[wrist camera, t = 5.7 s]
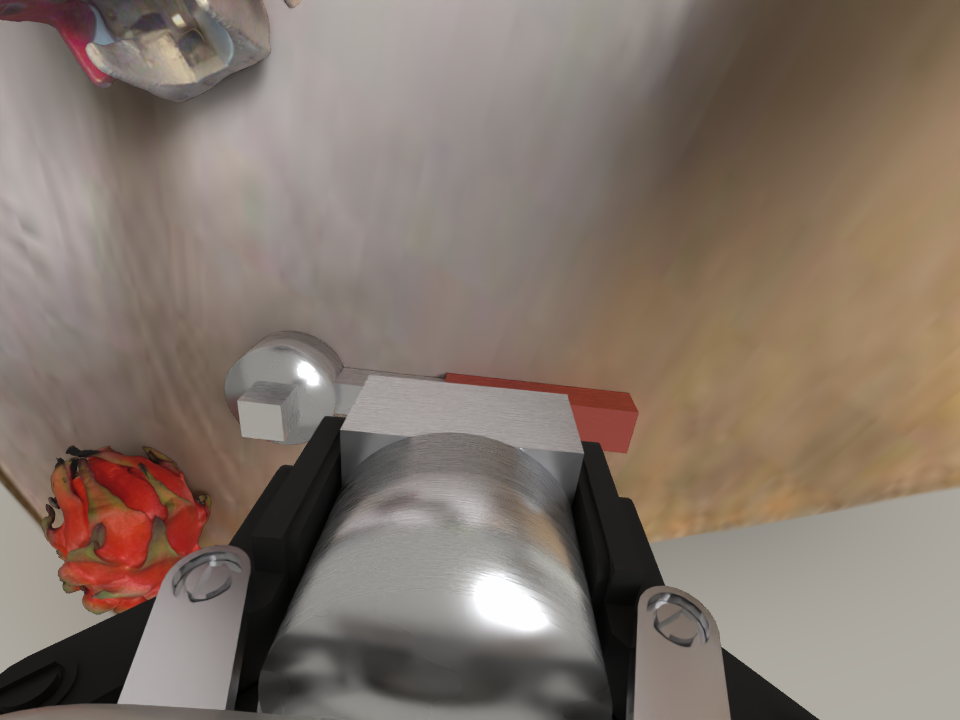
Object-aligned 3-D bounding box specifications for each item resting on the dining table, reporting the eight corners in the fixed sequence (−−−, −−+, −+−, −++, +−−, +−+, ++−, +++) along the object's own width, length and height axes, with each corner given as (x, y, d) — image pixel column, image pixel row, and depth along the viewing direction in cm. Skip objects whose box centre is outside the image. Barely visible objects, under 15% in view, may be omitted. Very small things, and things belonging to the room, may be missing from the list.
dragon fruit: (214, 542, 38) (149, 404, 34) (260, 576, 32) (187, 413, 29) (85, 622, 32) (-9, 464, 28) (112, 681, 26) (-1, 491, 23)
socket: (576, 388, 11) (652, 612, 6) (543, 547, 14) (576, 817, 8) (361, 366, 11) (238, 573, 6) (362, 530, 14) (273, 792, 8)
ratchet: (635, 369, 28) (661, 414, 23) (612, 452, 30) (632, 508, 26) (243, 325, 28) (193, 362, 23) (254, 413, 30) (210, 462, 26)
